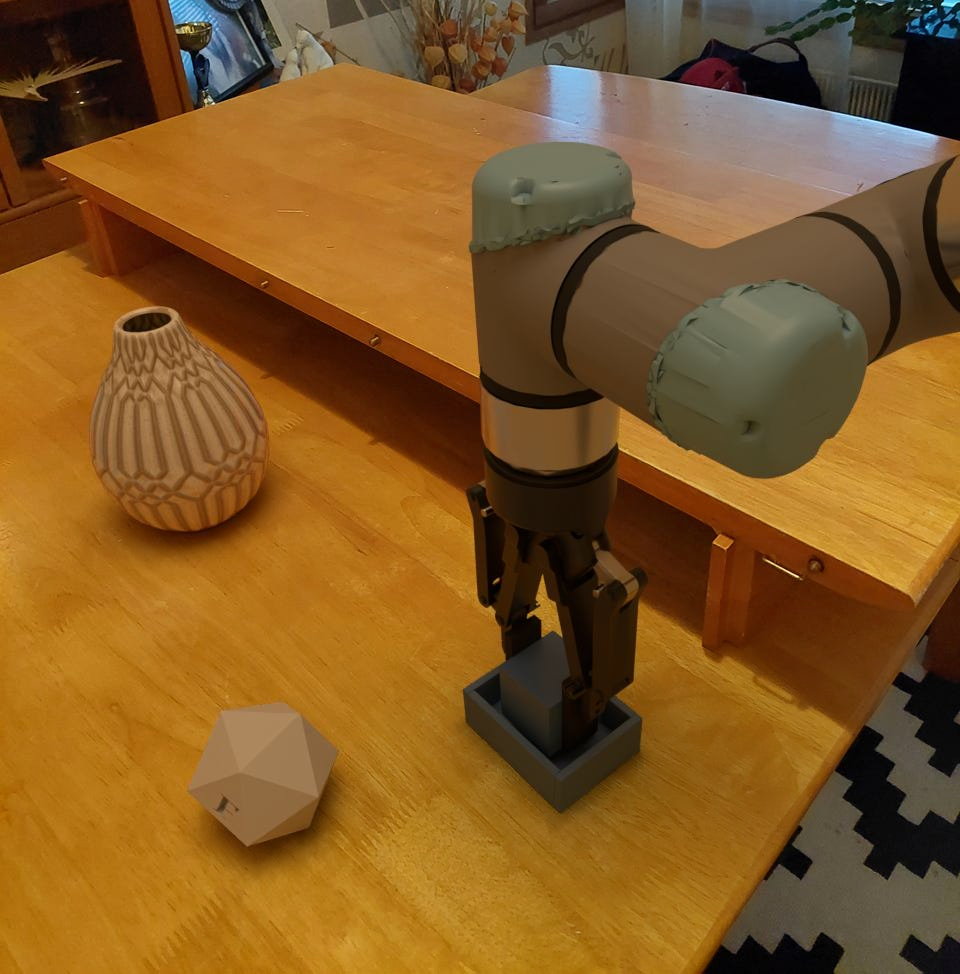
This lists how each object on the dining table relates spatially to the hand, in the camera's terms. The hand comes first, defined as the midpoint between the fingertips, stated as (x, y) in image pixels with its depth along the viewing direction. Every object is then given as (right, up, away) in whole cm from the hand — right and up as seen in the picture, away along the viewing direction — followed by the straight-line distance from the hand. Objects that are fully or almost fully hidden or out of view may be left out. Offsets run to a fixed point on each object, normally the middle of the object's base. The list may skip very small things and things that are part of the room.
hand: (551, 713), depth 65 cm
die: (-19, -6, -2) cm, 20 cm away
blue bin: (0, -2, +2) cm, 3 cm away
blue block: (0, 0, 0) cm, 0 cm away
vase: (-32, +14, +26) cm, 44 cm away
